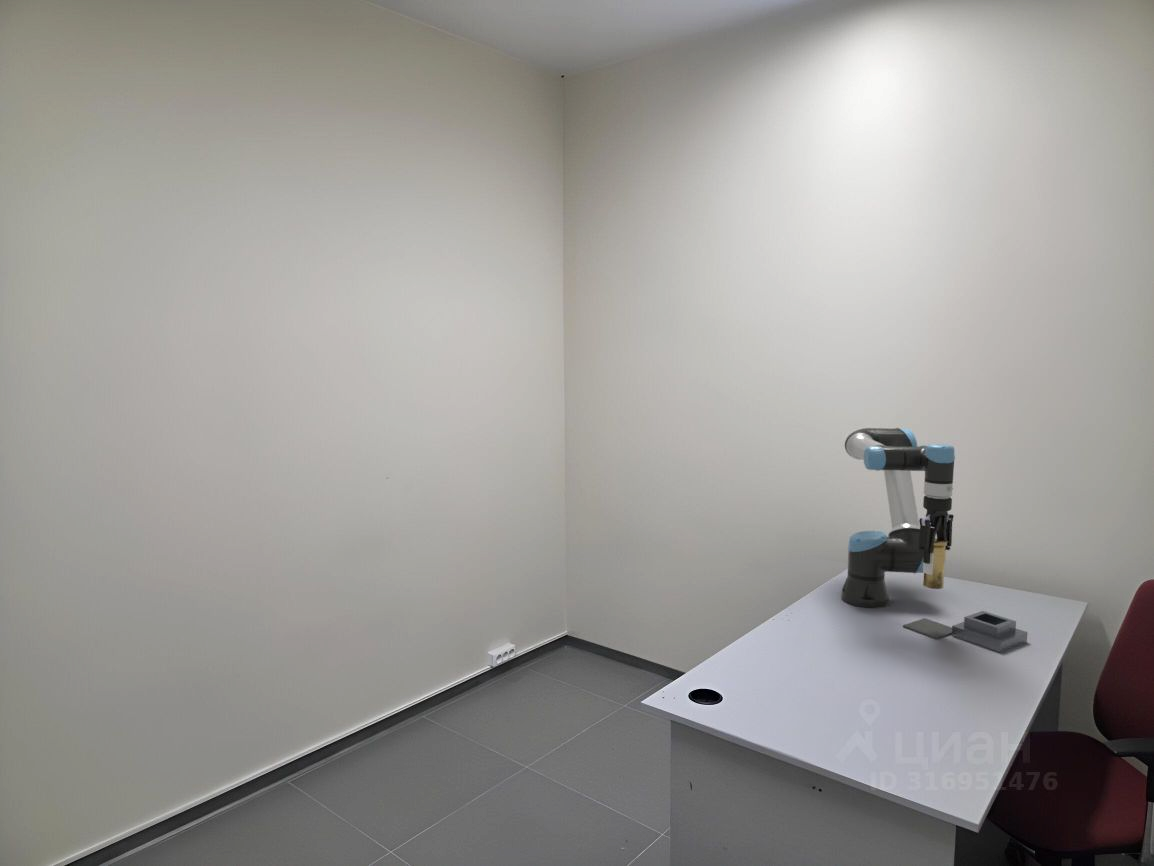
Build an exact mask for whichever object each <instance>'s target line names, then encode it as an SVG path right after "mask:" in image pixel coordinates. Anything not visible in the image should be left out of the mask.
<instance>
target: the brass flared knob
mask: <svg viewBox="0 0 1154 866" xmlns="http://www.w3.org/2000/svg"><path fill="white" fill-rule="evenodd" d="M947 542H948V541H945V540H941V539H937V537H935V541H934V545H933V550H932V553H934V561H933V575H930V574H926V573H923V582H922V583H923V586H924V587H925V588H929V589H932V590H933V589H935V590H941V589H943V588H944V583H945V581H944V579H945V571H944V565H945V566H946V560H945V547H946V546H947Z"/></svg>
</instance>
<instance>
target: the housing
mask: <svg viewBox="0 0 1154 866" xmlns="http://www.w3.org/2000/svg"><path fill="white" fill-rule="evenodd" d="M951 627H952V634H951V636H952V637H955V638H957V639H960V640H963V641H965V642H968V643H972V644H974V645H977V646H980V647H983V648H985V649H988V650H991V651H994V652H996V653H1000V654H1001V653H1004V652H1006V651H1008V650H1011V649H1014V648H1016V647H1019V646H1020V645H1024V644H1025V643H1028V631H1025V630H1022V629H1019V628H1016V627H1017V621H1016V620H1013V619H1010V618H1006V617H1004V616H1000V615H998V614H994V613H991V612H988V611H986V610H985V611H984V610H981V611H978V612H975V613H972V614H969V615H967V616H964V618H963V621H962V622H960V623H957V624H954V625H952V626H951Z"/></svg>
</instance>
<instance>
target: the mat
mask: <svg viewBox="0 0 1154 866" xmlns="http://www.w3.org/2000/svg"><path fill="white" fill-rule="evenodd" d="M902 628H904V629H907V630H910V631H913V632H915V633H918V634H921V635H923V636H925V637H929V638H932V639H934V640H940V639H943V638H945V637H948V636H952V626H949V625H946V624H944V623H940V622H937V621H934V620H933V619H929V618H926V617H925V618H921V619H917V620H914V621H912V622H909V623H906V624H903V625H902Z"/></svg>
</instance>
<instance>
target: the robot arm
mask: <svg viewBox="0 0 1154 866" xmlns="http://www.w3.org/2000/svg"><path fill="white" fill-rule="evenodd" d="M844 449H845V452H846V453H847V454H848V456H850V457H851V458H853V459H856V460H861V461H863V465H864V467H865V469H867V470H869V471H878V472H879V471H883V475H884V480H885V487H886V494H887V501H888V508H889V514H890V522H891V527H892V528H891V530H890V531H889V532H888V536H887V534H886V533H885V532H883V531H878V530H877V531H876V530H863V531H858V532H855V533H853V534H851V536H849V539H848V547H847V550H848V552H847V553H848V555H847V556H848V557H847V576H846V579H845V581H844V584H843V586H842V589H841V593H840V595H841V596H840V597H841V600H842V601H844V602H845V603H847V604H850V605H853V606H857V607H861V608H871V609H873V608H875V609H877V608H884V607H887V606H889V604H890V594H889V591H888V588H887V585H886V584H887V583H886V581H885V577H886V576H885V575H886V574H885V573H886V572H887V573H908V574H910V573H912V574H924V573H926V574H930V575H933V561H934V553H932V550H933V545H934V541H935V538H937V539H941V540H945V541H947V546H946V547H945V561H946V558H947V551H950V550H951V547H952V543H953V542H952V540H953V522H954V514H951V513H949V511H951V510H952V509H953V508H952V507H953V505H952V504H953V498H952V496H953V490H954V488H953V486H954V485H953V484H954V471H955V470H954V469H955V460H956V455H955V446H953V445H952V444H946V443H930V444H928V445H924V444H922V445H918V443H917V439H916V436H915V434H914V432H913V431H911V430H910V429H909V428H900V427H896V428H885V427H884V428H881V427H879V428H871V427H867V428H866V427H865V428H860V429H857V430H855V431H853V432H851V433H850V434H849V435H848V436H847V437H846V439H845V441H844ZM914 471H915V472H924V483H923V484H924V485H923V494H924V496H923V503H922V504H923V505H922V507H923V508H924V509H925V510H926V513H925V517H924V518H921V517H920V518H919V516H918V508H917V503H916V498H915V490H914V484H913V480H912V479H913V478H912V472H914ZM944 572H946V564H945V565H944Z"/></svg>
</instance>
